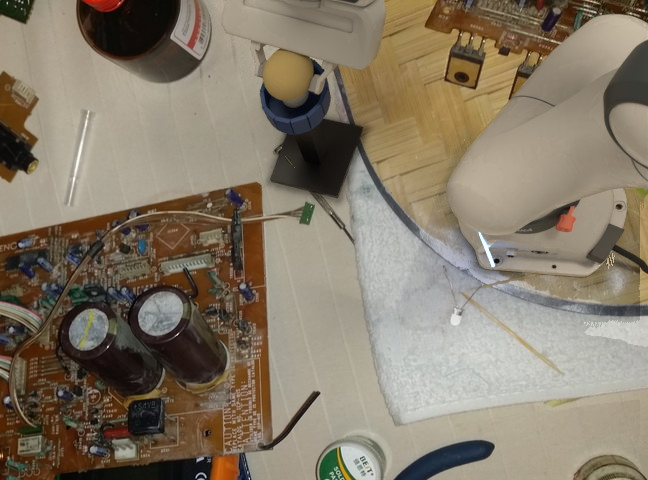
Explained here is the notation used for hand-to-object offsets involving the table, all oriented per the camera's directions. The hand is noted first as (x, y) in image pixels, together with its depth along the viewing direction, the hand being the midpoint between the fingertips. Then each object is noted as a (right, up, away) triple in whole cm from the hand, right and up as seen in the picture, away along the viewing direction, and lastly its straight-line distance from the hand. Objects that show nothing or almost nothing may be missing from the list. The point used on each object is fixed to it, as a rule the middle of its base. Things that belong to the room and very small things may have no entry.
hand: (288, 83), depth 92 cm
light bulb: (+2, 0, +5) cm, 6 cm away
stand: (+11, 0, +28) cm, 30 cm away
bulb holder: (+3, 0, +7) cm, 8 cm away
